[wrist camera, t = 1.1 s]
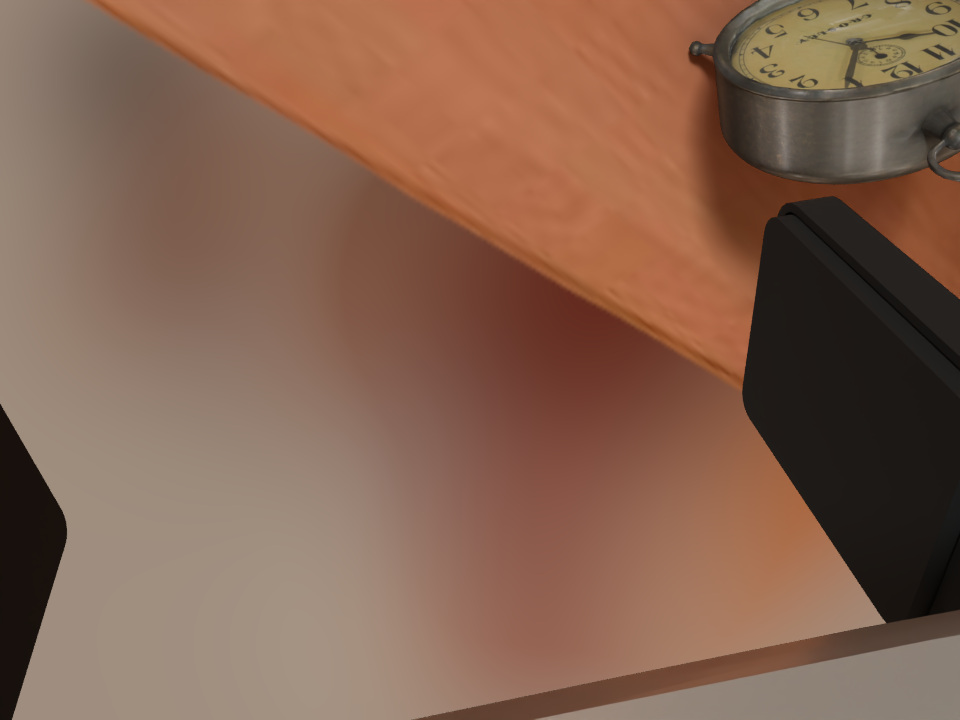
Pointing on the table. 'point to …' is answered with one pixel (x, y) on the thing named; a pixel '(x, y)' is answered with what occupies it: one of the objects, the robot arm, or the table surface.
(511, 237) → the table surface
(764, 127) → the alarm clock
